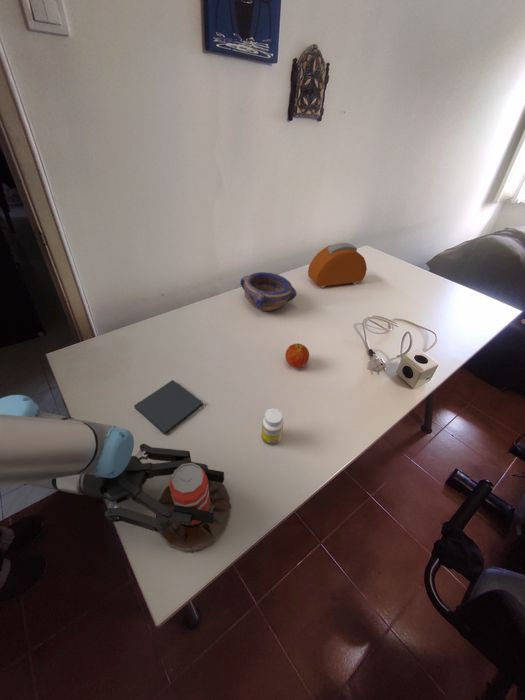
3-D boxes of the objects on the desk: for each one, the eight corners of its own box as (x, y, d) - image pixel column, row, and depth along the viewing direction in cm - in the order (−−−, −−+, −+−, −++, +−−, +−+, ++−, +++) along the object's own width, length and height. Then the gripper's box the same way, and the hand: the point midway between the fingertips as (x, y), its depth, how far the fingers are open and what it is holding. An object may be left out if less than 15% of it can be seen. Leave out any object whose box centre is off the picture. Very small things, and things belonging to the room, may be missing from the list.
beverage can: (188, 487, 62) (181, 454, 54) (216, 501, 60) (213, 469, 53) (169, 516, 58) (160, 485, 50) (199, 532, 56) (194, 502, 48)
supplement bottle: (268, 425, 76) (271, 403, 71) (284, 435, 74) (288, 413, 69) (257, 438, 73) (258, 416, 68) (273, 449, 71) (276, 427, 66)
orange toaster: (352, 274, 141) (362, 238, 131) (363, 284, 135) (374, 246, 124) (305, 280, 135) (312, 242, 124) (314, 290, 129) (322, 251, 118)
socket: (191, 570, 53) (189, 567, 52) (142, 515, 59) (140, 511, 58) (244, 507, 61) (244, 502, 60) (197, 464, 67) (196, 460, 66)
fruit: (309, 359, 95) (313, 339, 90) (304, 374, 90) (308, 354, 85) (287, 354, 97) (290, 334, 92) (281, 368, 92) (284, 348, 87)
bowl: (298, 313, 115) (302, 289, 108) (253, 322, 109) (254, 297, 102) (278, 289, 127) (280, 267, 121) (236, 296, 121) (236, 273, 115)
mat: (165, 435, 72) (164, 432, 72) (134, 408, 78) (133, 405, 77) (203, 405, 80) (203, 402, 79) (173, 382, 85) (172, 379, 85)
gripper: (125, 439, 66) (231, 458, 64) (67, 539, 51) (203, 568, 49) (116, 417, 61) (231, 437, 59) (49, 521, 46) (199, 551, 44)
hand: (218, 496), depth 54 cm, fingers closed on beverage can, 6 cm apart
